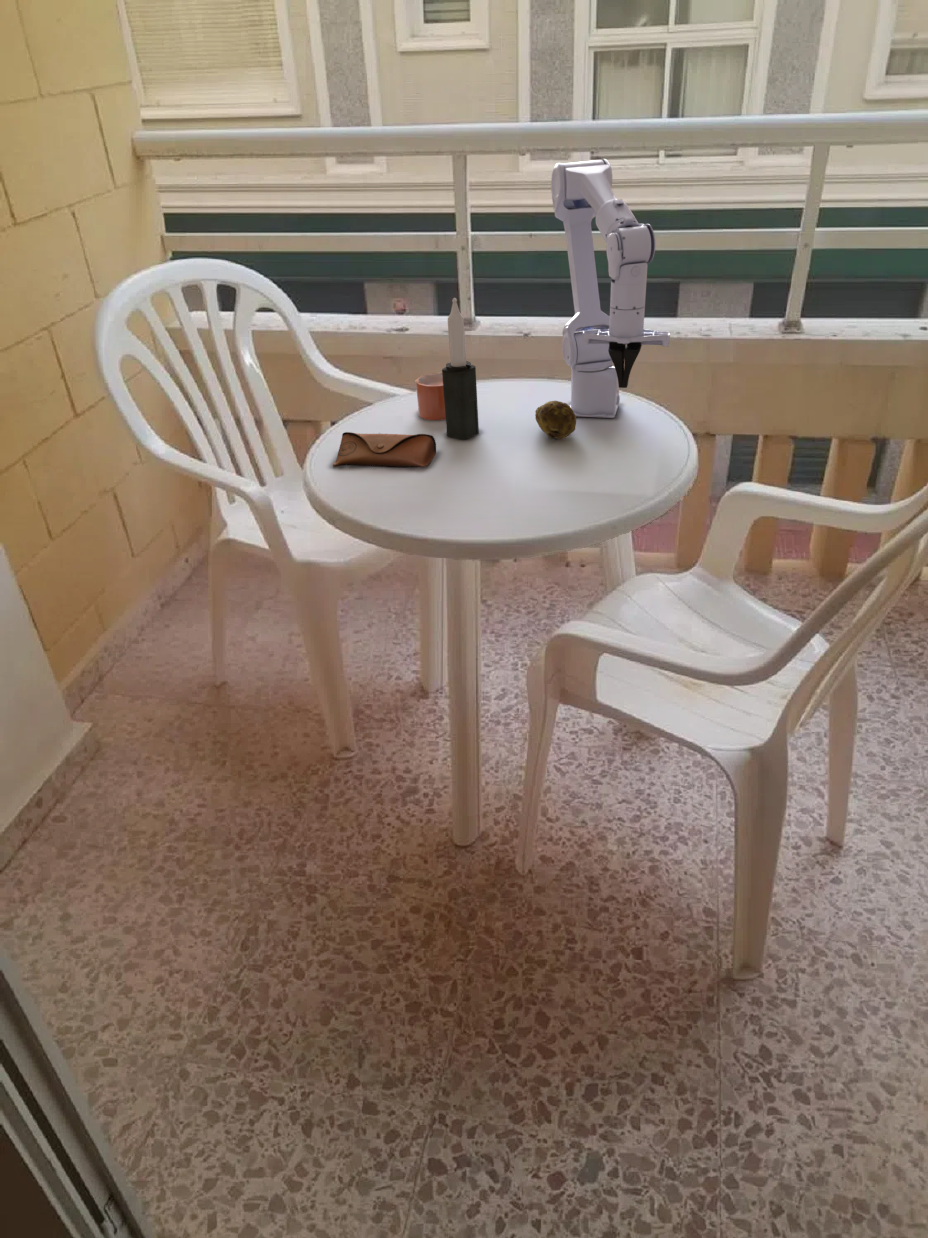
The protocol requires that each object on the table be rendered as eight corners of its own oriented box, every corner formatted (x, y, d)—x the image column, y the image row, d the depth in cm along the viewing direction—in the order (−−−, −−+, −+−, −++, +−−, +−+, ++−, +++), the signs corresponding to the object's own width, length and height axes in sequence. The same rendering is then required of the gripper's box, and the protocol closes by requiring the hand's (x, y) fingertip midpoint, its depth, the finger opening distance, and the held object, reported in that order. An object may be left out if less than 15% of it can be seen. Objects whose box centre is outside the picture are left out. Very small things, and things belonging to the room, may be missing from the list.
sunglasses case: (330, 465, 148) (331, 428, 147) (342, 470, 155) (343, 434, 154) (427, 467, 145) (429, 429, 144) (436, 471, 151) (437, 435, 151)
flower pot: (462, 406, 170) (460, 373, 166) (451, 421, 164) (449, 386, 160) (425, 405, 172) (422, 372, 168) (413, 419, 166) (410, 385, 162)
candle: (465, 440, 155) (457, 302, 141) (444, 435, 158) (433, 299, 143) (481, 431, 158) (474, 296, 144) (460, 426, 161) (451, 293, 147)
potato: (582, 426, 157) (583, 385, 153) (573, 453, 147) (573, 410, 143) (539, 424, 159) (539, 384, 155) (527, 451, 149) (526, 408, 145)
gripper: (580, 311, 135) (578, 392, 143) (670, 312, 132) (663, 395, 139) (586, 300, 141) (584, 378, 148) (673, 301, 137) (666, 381, 145)
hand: (623, 385), depth 144 cm, fingers closed
